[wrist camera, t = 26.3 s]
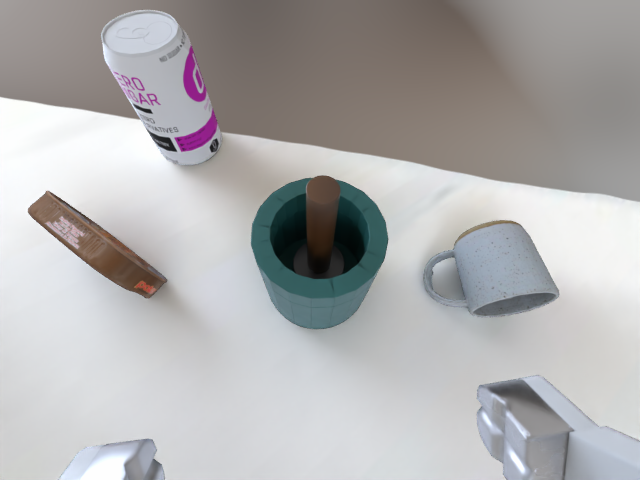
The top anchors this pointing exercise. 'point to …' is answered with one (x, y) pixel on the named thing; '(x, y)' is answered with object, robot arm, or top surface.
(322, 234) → the dish brush
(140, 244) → the top surface
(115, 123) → the top surface
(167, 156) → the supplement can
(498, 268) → the ceramic mug
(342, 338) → the top surface
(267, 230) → the teal pen holder
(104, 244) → the tin
